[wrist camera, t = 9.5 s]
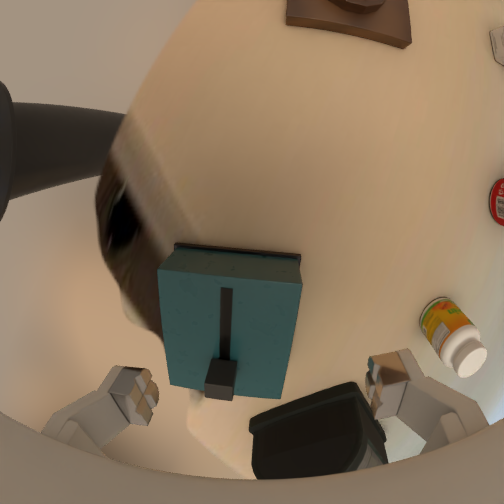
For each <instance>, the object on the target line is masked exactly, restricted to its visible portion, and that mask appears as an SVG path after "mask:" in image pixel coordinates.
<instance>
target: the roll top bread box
mask: <svg viewBox="0 0 504 504" xmlns="http://www.w3.org/2000/svg"><path fill="white" fill-rule="evenodd" d="M249 432H250V433H252V434H253V449H252V463H251V465H252V469H253V472H254V474H255V476H256V478H257V480H268V479H293V478H306V477H316V476H325V475H332V474H339V473H346V472H351V471H357V470H362V469H367V468H372V467H376V466H380V465H385V464H389V463H388V459H387V454H386V450H385V446H384V443H385V442H386V436H385V433H384V431H383V429H382V427H381V425H380V424H379V422H378V420H377V419H376V420H374V416H373V413H372V410H371V408H370V406H369V404H368V403H367V401H366V399H365V398H364V396H363V394H362V392H361V391H360V389H359V387H358V386H357V384H356V383H354V382H349V383H345V384H342V385H338V386H335V387H332V388H329V389H326V390H323V391H320V392H317V393H314V394H312V395H309V396H306V397H303V398H301V399H298V400H295V401H292V402H290V403H287V404H284V405H282V406H279V407H276V408H274V409H271V410H269V411H266V412H264V413H261V414H259V415H257V416H255V417H253V418H251V419H250V423H249Z"/></svg>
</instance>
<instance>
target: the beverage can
mask: <svg viewBox="0 0 504 504" xmlns="http://www.w3.org/2000/svg"><path fill="white" fill-rule="evenodd" d="M490 208H491V212H492V215H493V217H494V219H495V221H496V222H497V223H499V224H500V225H502V226H504V178H503V179H500V180H499V181H497V183H496V184H495V185H494V187H493V189H492V191H491V196H490Z"/></svg>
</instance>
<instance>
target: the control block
mask: <svg viewBox="0 0 504 504" xmlns="http://www.w3.org/2000/svg"><path fill="white" fill-rule="evenodd" d="M286 25H292V26H301V27H309V28H316V29H323V30H329V31H334V32H339V33H345V34H349V35H354V36H358V37H363V38H367V39H371V40H374V41H378V42H382V43H385V44H389V45H392V46H395V47H398V48H401V49H404V48H406V47H407V46H408V45H410V44H411V43H412V38H411V26H410V16H409V8H408V0H287V9H286Z"/></svg>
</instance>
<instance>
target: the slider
mask: <svg viewBox="0 0 504 504" xmlns="http://www.w3.org/2000/svg"><path fill="white" fill-rule="evenodd" d="M236 376H237V361H229V360H221V359H213V358H212V359H211V361H210V365H209V368H208V372H207V375H206V378H205V382H204V391H205V397H206V398H212V399H219V400H227V401H232V400H233V394H234V388H235V382H236Z"/></svg>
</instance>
